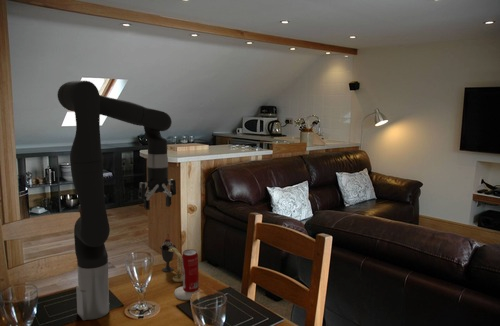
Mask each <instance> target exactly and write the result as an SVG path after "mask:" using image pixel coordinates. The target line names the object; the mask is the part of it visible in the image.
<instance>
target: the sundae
mask: <svg viewBox="0 0 500 326" xmlns="http://www.w3.org/2000/svg"><path fill="white" fill-rule="evenodd" d="M167 236H170V235H169V233H168V234H167ZM174 247H175V248H176V247H177V246H176V244H173V242H171V239H170V238H166V239H165V240H164V241H163V242H162V245H160V246H159V249H160V250H161V255H162V256H161V257H162V260H163V262H165V263H166V266H165V267H163V268H162V269H161V271H162V272H163V273H171V272H173V271H174V269H175V268H173V267H171V266H170V263H171V261H172V260H173V259H174V254H175V253H174V252H170V251H169V249H170V248H174Z"/></svg>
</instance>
